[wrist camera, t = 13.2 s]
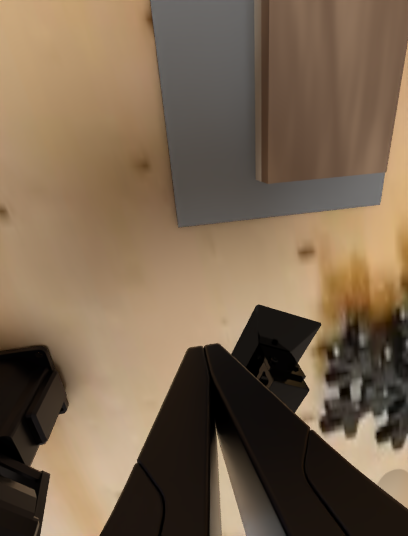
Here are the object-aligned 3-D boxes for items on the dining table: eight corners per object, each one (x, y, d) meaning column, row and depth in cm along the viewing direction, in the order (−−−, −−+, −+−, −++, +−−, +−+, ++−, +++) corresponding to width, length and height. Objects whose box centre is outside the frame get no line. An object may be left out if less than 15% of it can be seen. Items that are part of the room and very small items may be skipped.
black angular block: (254, 283, 22) (277, 317, 17) (335, 310, 24) (374, 346, 19) (193, 406, 26) (198, 458, 22) (266, 420, 28) (285, 471, 24)
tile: (267, 183, 16) (386, 172, 16) (269, -32, 12) (420, -38, 13) (255, 179, 18) (360, 169, 18) (254, -4, 14) (383, -10, 15)
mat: (178, 225, 19) (178, 227, 19) (142, -62, 13) (141, -68, 13) (376, 203, 20) (379, 204, 20) (417, -72, 14) (424, -78, 14)
